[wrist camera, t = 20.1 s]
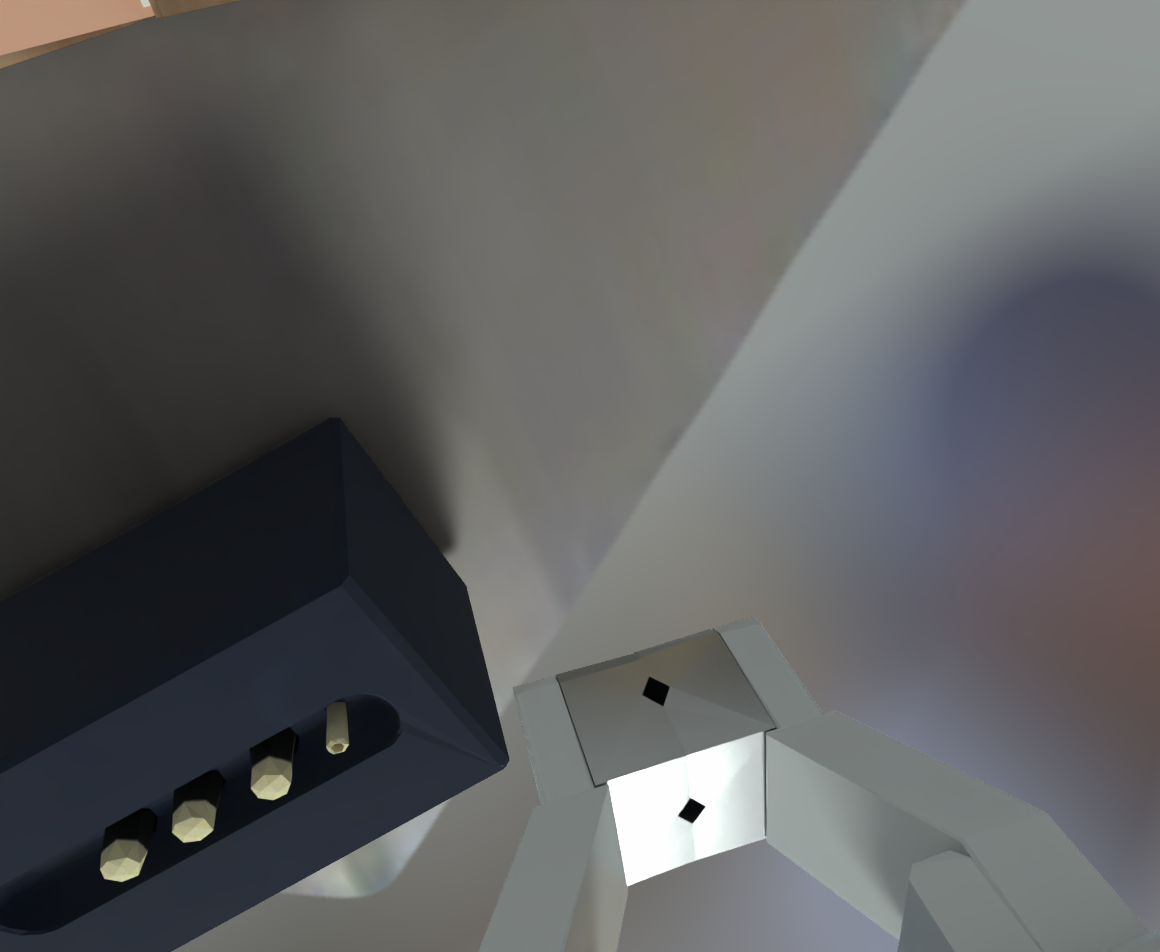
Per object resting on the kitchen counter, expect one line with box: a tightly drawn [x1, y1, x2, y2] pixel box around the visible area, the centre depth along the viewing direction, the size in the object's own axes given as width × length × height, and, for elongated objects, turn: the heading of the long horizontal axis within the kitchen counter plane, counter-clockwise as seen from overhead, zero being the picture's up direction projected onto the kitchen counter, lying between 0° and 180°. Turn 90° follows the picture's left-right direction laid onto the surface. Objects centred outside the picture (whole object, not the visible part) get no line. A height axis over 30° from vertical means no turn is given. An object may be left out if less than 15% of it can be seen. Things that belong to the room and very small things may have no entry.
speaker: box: [0, 418, 509, 952], centre depth 38 cm, size 22×13×15 cm, turn 114°
